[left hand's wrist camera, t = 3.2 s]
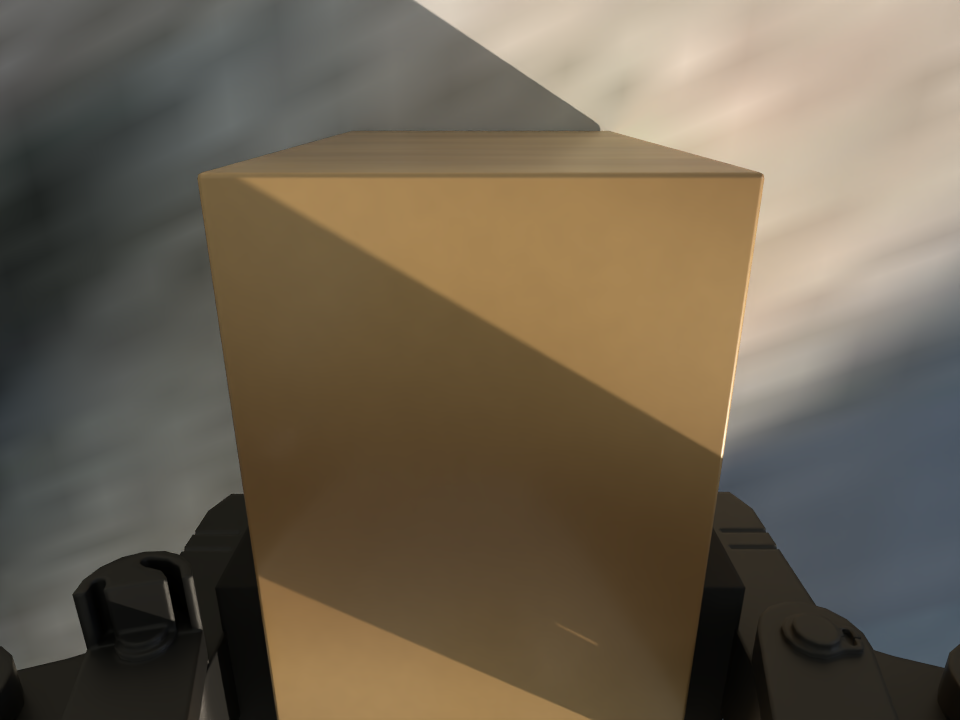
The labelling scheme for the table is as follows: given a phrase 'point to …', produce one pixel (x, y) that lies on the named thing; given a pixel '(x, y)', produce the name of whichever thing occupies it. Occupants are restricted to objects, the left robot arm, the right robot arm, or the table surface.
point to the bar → (480, 414)
